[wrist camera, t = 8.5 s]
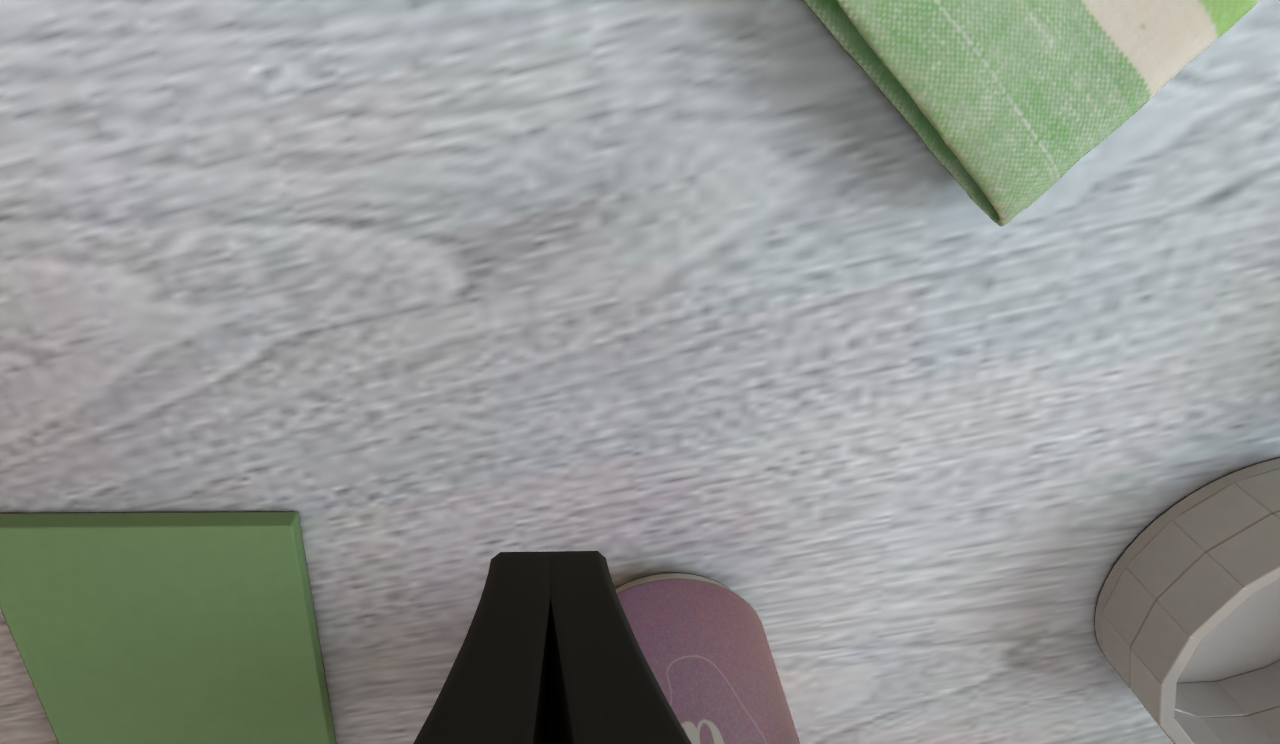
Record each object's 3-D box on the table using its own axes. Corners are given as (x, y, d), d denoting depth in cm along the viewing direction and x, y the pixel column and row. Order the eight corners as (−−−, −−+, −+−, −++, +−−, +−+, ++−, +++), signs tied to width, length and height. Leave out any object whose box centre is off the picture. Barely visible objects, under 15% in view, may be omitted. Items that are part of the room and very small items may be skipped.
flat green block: (85, 767, 24) (75, 785, 23) (-21, 512, 19) (-36, 528, 19) (338, 755, 25) (334, 772, 24) (298, 511, 20) (291, 526, 20)
